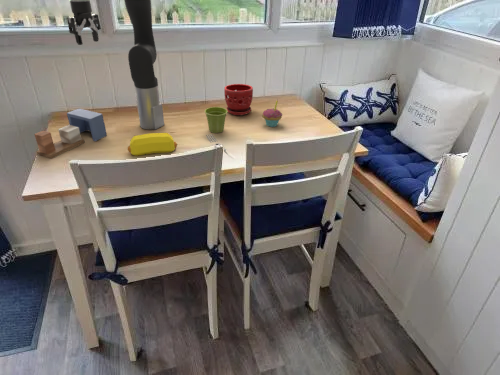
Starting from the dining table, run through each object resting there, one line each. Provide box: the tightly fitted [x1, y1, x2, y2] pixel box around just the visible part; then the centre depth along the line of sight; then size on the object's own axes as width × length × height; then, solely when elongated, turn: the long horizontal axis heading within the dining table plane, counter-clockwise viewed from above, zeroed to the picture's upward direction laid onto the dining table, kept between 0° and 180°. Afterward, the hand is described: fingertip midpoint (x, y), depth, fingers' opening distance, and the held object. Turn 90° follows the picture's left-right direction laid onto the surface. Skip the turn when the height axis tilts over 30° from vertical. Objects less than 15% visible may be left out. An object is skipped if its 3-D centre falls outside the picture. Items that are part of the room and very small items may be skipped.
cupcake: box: [262, 98, 283, 128], centre depth 156 cm, size 9×8×12 cm
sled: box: [34, 124, 85, 160], centre depth 133 cm, size 7×15×8 cm, turn 154°
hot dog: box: [127, 132, 178, 157], centre depth 134 cm, size 18×7×8 cm
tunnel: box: [66, 108, 108, 142], centre depth 143 cm, size 12×7×9 cm, turn 64°
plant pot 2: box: [224, 83, 254, 116], centre depth 169 cm, size 13×13×12 cm
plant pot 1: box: [204, 106, 229, 134], centre depth 150 cm, size 9×9×9 cm
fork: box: [206, 133, 227, 152], centre depth 138 cm, size 3×24×2 cm, turn 31°
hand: (88, 42), depth 152 cm, fingers open, 8 cm apart
